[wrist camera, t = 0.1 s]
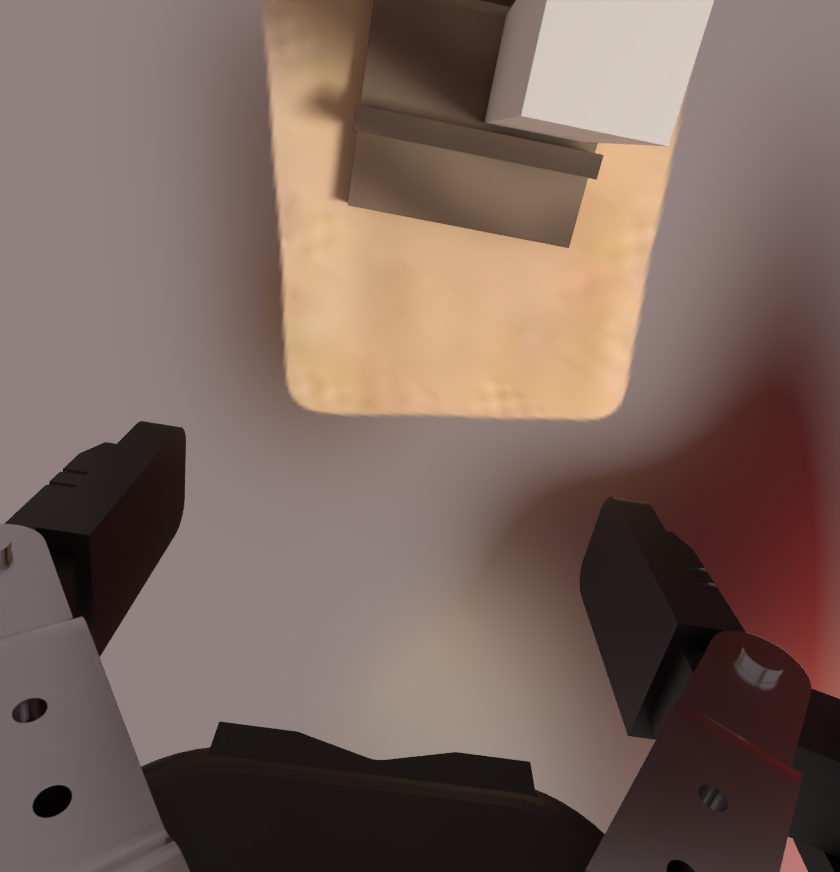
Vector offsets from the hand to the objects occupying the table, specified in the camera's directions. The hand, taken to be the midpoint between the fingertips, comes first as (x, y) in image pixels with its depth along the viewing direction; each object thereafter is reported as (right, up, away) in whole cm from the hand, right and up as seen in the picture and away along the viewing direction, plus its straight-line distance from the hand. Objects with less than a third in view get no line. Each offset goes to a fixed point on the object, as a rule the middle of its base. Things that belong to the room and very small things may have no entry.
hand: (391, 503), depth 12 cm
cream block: (+7, +20, +22) cm, 30 cm away
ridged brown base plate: (+4, +21, +22) cm, 31 cm away
